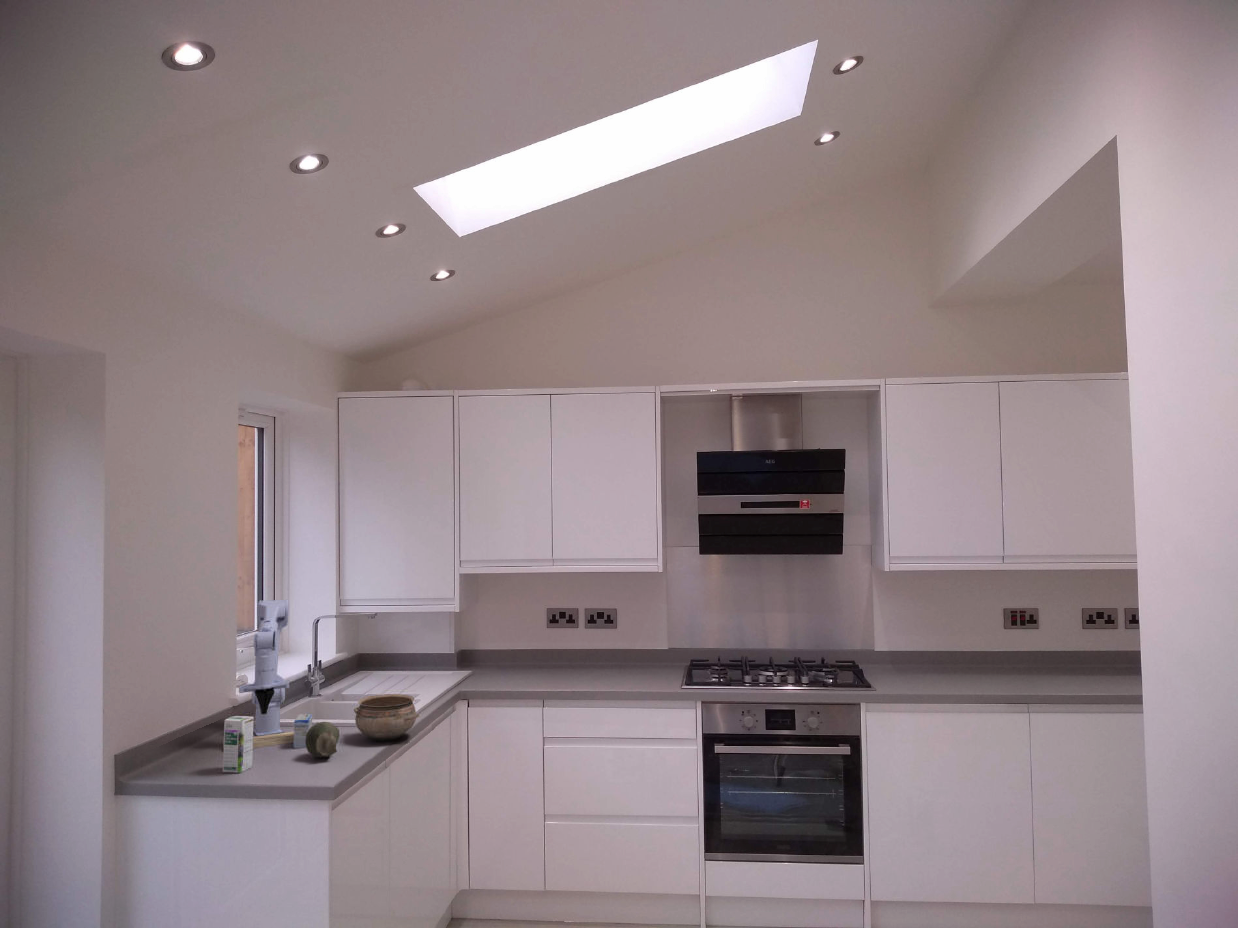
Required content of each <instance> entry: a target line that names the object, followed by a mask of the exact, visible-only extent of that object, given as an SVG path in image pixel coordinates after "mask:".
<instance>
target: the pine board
mask: <svg viewBox="0 0 1238 928" xmlns="http://www.w3.org/2000/svg"><path fill="white" fill-rule="evenodd" d="M222 742H223V743H222V748H223V749H224V740H223V741H222ZM289 743H294V731H288V732H283V733H277V734H269V735H262V736H253V749H256V748H261V747H262V748H263V747H268V746H269V747H271V746H276V745H282V744H283V745H284V744H289Z"/></svg>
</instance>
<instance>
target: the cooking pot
mask: <svg viewBox="0 0 1238 928" xmlns="http://www.w3.org/2000/svg"><path fill="white" fill-rule="evenodd" d="M414 701H415V697H414V696H412V695H407V694H401V693H400V694H398V693H393V694H392V693H390V694H389V693H388V694H387V693H386V694H377V695H370V696H367V697H363V698H361V699H359V700H358V701H357V703H358V705H359V706H355V707H354V708H353V711H354V713H355V718H354V720H355V721H354V722H355V726H356V728H357V729H358V731H360V732H361V733H362V734H364V736H367V737H368V738H371V739H373V740H375V741H376V740H377V741H376V742H391V741H395V740H396V739H397V738H399V737H401V736H402V735H404V734H405V733H407V732H409V731H410V730H411V729H412V728H413V726H414V725H415V723H416V720H417V718H419V717H420V714H419V713H417V711H416V707H415V705H414Z"/></svg>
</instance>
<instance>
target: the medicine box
mask: <svg viewBox="0 0 1238 928" xmlns="http://www.w3.org/2000/svg"><path fill="white" fill-rule="evenodd" d="M293 724H294V725H293V727H294V729H293V732H294V742H293V748H294V749H296V750H297V749H307V748H306V744H305V739H306V735H307V732H308V731H309V729H310V728H311V727H312V726H313V714H311V713H301V714H298V715H297V716H296V718H295V719H294V723H293Z"/></svg>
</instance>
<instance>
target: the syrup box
mask: <svg viewBox="0 0 1238 928" xmlns="http://www.w3.org/2000/svg"><path fill="white" fill-rule="evenodd" d="M254 720H255V719H254V716H244V715H243V716H241V715H235V716H229V718H226V719H224V723H223V724H224V726H223V741H224V748H223V757H222V758H223V759H222V761H223V762H222V773H232V774H233V773H237V774H241V773H244V772H245V771H247V770H249V769H251V768H252V767H253V754H254V753H253V749H254V748H253V737H254V732H253V728H254V722H255V721H254Z"/></svg>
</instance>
